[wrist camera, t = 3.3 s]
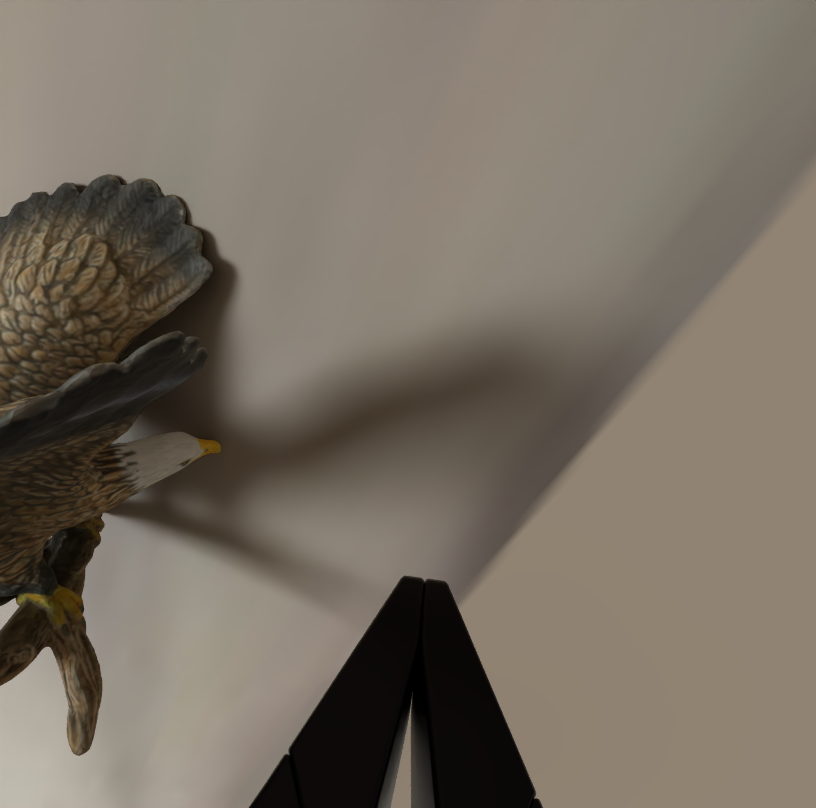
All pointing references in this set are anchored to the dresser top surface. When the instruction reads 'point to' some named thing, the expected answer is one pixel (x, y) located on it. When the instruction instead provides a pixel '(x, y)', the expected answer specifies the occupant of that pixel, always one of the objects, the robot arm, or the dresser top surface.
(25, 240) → the eagle figurine
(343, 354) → the dresser top surface
